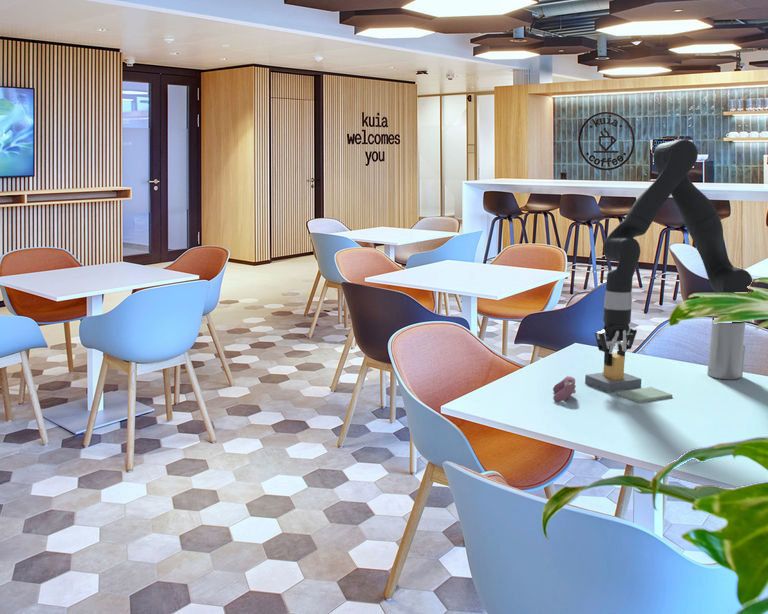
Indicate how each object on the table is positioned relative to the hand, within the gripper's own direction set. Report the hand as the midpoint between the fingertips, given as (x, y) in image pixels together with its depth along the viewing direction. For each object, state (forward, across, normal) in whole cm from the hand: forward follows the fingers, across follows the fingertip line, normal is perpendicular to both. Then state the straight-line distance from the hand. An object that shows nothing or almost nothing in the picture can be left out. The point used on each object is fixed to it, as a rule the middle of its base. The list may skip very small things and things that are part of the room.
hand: (614, 364), depth 227 cm
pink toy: (+7, +20, +4) cm, 22 cm away
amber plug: (+6, 0, 0) cm, 6 cm away
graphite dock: (+6, 0, 0) cm, 6 cm away
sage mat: (+6, -1, +12) cm, 14 cm away
